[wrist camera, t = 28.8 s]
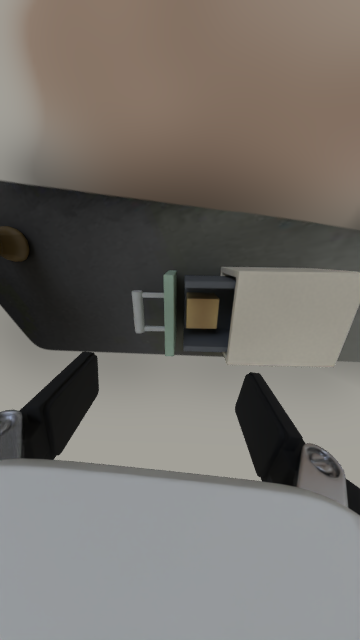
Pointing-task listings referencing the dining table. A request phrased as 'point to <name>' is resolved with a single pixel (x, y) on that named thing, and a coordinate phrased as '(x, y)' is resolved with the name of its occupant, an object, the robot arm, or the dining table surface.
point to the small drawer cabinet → (290, 315)
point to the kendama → (13, 244)
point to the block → (201, 310)
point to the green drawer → (192, 336)
